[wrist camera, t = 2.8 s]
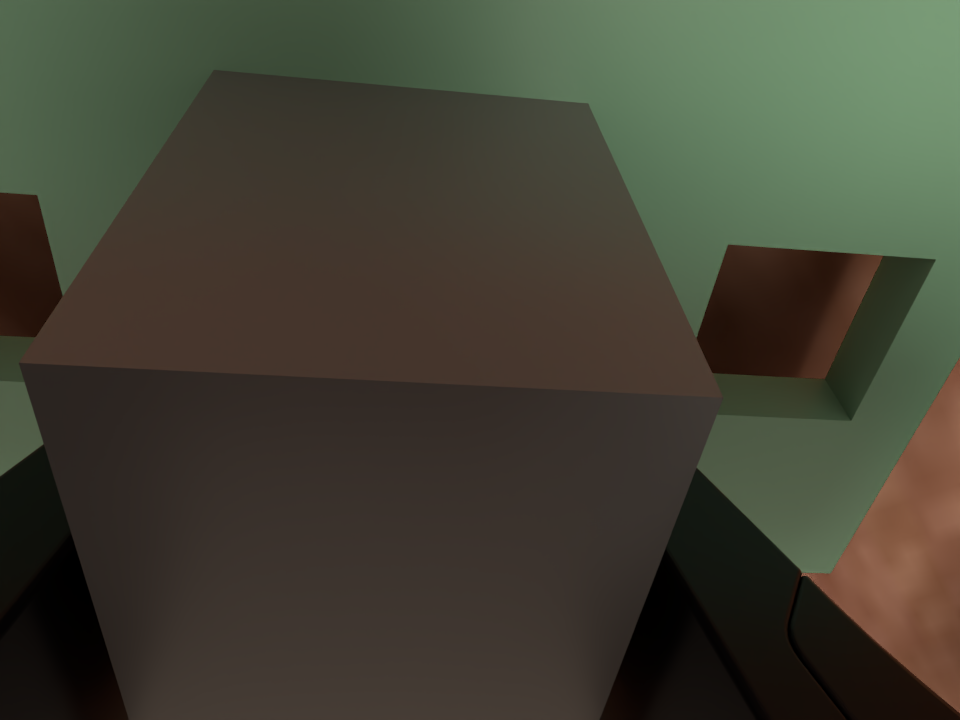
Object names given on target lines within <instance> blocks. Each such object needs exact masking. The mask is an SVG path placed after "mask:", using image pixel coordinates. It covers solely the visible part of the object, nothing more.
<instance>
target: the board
mask: <svg viewBox="0 0 960 720" xmlns="http://www.w3.org/2000/svg"><path fill="white" fill-rule="evenodd" d="M0 192H1V193H15V194H29V195H37V196H38V200H39V204H40V208H41V212H42V216H43V220H44V224H45V228H46V232H47V236H48V240H49V244H50V248H51V252H52V256H53V260H54V264H55V268H56V272H57V276H58V280H59V284H60V288H61V292H62V296H63V297H62V298H61V300H60V301H59V303H58V304H57V306H56V307H55V309H54V310H53V312H52V313H51V315H50V316H49V318H48V319H47V321H46V322H45V324H44V325H43V327H42V328H41V330H40V331H39V333H38V334H37V336H36V337H18V336H0V476H1V475H2V474H4V473H5V472H6V471H8V470H9V469H11V468H12V467H13V466H15V465H16V464H17V463H19V462H20V461H21V460H23V459H24V458H25V457H27V456H28V455H29V454H31V453H32V452H33V451H35V450H36V449H37V448H39V447H40V446H41V445H43V444H44V447H45V450H46V453H47V456H48V460H49V463H50V466H51V469H52V473H53V476H54V479H55V482H56V485H57V489H58V492H59V495H60V498H61V502H62V505H63V508H64V511H65V515H66V518H67V521H68V524H69V527H70V531H71V534H72V537H73V540H74V544H75V547H76V550H77V553H78V557H79V560H80V563H81V566H82V569H83V573H84V576H85V579H86V582H87V586H88V589H89V592H90V595H91V599H92V602H93V605H94V608H95V611H96V615H97V618H98V621H99V624H100V628H101V631H102V634H103V637H104V641H105V644H106V647H107V650H108V654H109V657H110V660H111V663H112V666H113V670H114V673H115V676H116V679H117V683H118V686H119V689H120V692H121V696H122V699H123V702H124V705H125V708H126V712H127V715H128V718H129V720H600V717H601V715H602V712H603V710H604V707H605V704H606V702H607V699H608V697H609V694H610V691H611V689H612V686H613V684H614V681H615V678H616V676H617V673H618V671H619V668H620V665H621V663H622V660H623V658H624V655H625V652H626V650H627V647H628V645H629V642H630V639H631V637H632V634H633V632H634V629H635V626H636V624H637V621H638V619H639V616H640V613H641V611H642V608H643V606H644V603H645V600H646V598H647V595H648V593H649V590H650V587H651V585H652V582H653V580H654V577H655V574H656V572H657V569H658V567H659V564H660V561H661V559H662V556H663V554H664V551H665V548H666V546H667V543H668V541H669V538H670V535H671V533H672V530H673V528H674V525H675V522H676V520H677V517H678V515H679V512H680V509H681V507H682V504H683V502H684V499H685V496H686V494H687V491H688V489H689V486H690V484H691V481H692V478H693V476H694V473H695V471H696V468H698V469H699V470H700V471H701V472H702V473H703V474H704V475H705V476H706V477H707V478H708V479H709V480H710V481H711V482H712V483H713V484H714V485H715V486H716V487H717V488H718V489H719V490H720V491H721V492H722V493H723V494H724V495H725V496H726V497H727V498H728V499H729V500H730V501H731V502H732V503H733V504H734V505H735V506H736V507H737V508H738V509H739V510H740V511H741V512H742V513H743V514H744V515H746V516H747V517H748V518H749V519H750V520H751V521H752V522H753V523H754V524H755V525H756V526H757V527H758V528H759V529H760V530H761V531H762V532H763V533H764V534H765V535H766V536H767V537H768V538H769V539H770V540H771V541H772V542H773V543H774V544H775V545H776V546H777V547H778V548H779V549H780V550H781V551H782V552H783V553H784V554H785V555H786V556H787V557H788V558H789V559H790V560H791V561H792V562H793V563H794V564H795V565H796V566H797V567H798V568H799V569H800V570H801V572H802V573H831V572H832V570H833V569H834V567H835V565H836V564H837V562H838V560H839V559H840V557H841V555H842V554H843V552H844V550H845V548H846V547H847V545H848V543H849V542H850V540H851V538H852V537H853V535H854V533H855V532H856V530H857V528H858V527H859V525H860V523H861V522H862V520H863V518H864V517H865V515H866V513H867V512H868V510H869V508H870V507H871V505H872V503H873V502H874V500H875V498H876V497H877V495H878V493H879V492H880V490H881V488H882V486H883V485H884V483H885V481H886V480H887V478H888V476H889V475H890V473H891V471H892V470H893V468H894V466H895V465H896V463H897V461H898V460H899V458H900V456H901V455H902V453H903V451H904V450H905V448H906V446H907V445H908V443H909V441H910V440H911V438H912V436H913V435H914V433H915V431H916V430H917V428H918V426H919V424H920V423H921V421H922V419H923V418H924V416H925V414H926V413H927V411H928V409H929V408H930V406H931V404H932V403H933V401H934V399H935V398H936V396H937V394H938V393H939V391H940V389H941V388H942V386H943V384H944V383H945V381H946V379H947V378H948V376H949V374H950V373H951V371H952V369H953V368H954V366H955V364H956V362H957V361H958V359H959V357H960V0H0ZM728 245H742V246H756V247H770V248H784V249H798V250H812V251H826V252H840V253H854V254H868V255H882V256H883V258H882V260H881V262H880V265H879V267H878V269H877V271H876V273H875V275H874V277H873V279H872V281H871V283H870V286H869V288H868V290H867V292H866V294H865V296H864V298H863V300H862V302H861V304H860V306H859V309H858V311H857V313H856V315H855V317H854V319H853V321H852V323H851V325H850V327H849V330H848V332H847V334H846V336H845V338H844V340H843V342H842V344H841V346H840V348H839V350H838V353H837V355H836V357H835V359H834V361H833V363H832V365H831V367H830V369H829V371H828V374H827V376H826V378H825V379H811V378H792V377H773V376H754V375H736V374H717V373H712V372H711V369H710V367H709V365H708V363H707V361H706V359H705V356H704V354H703V352H702V350H701V348H700V346H699V343H698V341H697V339H696V338H697V335H698V332H699V329H700V326H701V323H702V320H703V317H704V314H705V311H706V308H707V305H708V302H709V299H710V296H711V293H712V290H713V287H714V284H715V282H716V279H717V276H718V273H719V270H720V267H721V264H722V261H723V258H724V255H725V252H726V249H727V246H728Z"/></svg>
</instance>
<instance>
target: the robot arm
mask: <svg viewBox="0 0 960 720" xmlns="http://www.w3.org/2000/svg"><path fill="white" fill-rule="evenodd" d="M801 575H802V572H801V570H800V569H799V568H798V567H797V566H796V565H795V564H794V563H793V562H792V561H791V560H790V559H789V558H788V557H787V556H786V555H785V554H784V553H783V552H782V551H781V550H780V549H779V548H778V547H777V546H776V545H775V544H774V543H773V542H772V541H771V540H770V539H769V538H768V537H767V536H766V535H765V534H764V533H763V532H762V531H761V530H760V529H759V528H758V527H757V526H756V525H755V524H754V523H753V522H752V521H751V520H750V519H749V518H748V517H747V516H746V515H744V514H743V513H742V512H741V511H740V510H739V509H738V508H737V507H736V506H735V505H734V504H733V503H732V502H731V501H730V500H729V499H728V498H727V497H726V496H725V495H724V494H723V493H722V492H721V491H720V490H719V489H718V488H717V487H716V486H715V485H714V484H713V483H712V482H711V481H710V480H709V479H708V478H707V477H706V476H705V475H704V474H703V473H702V472H701V471H700V470H699V469H698V468H696V471H695V473H694V476H693V478H692V481H691V484H690V486H689V489H688V491H687V494H686V496H685V499H684V502H683V504H682V507H681V509H680V512H679V515H678V517H677V520H676V522H675V525H674V528H673V530H672V533H671V535H670V538H669V541H668V543H667V546H666V548H665V551H664V554H663V556H662V559H661V561H660V564H659V567H658V569H657V572H656V574H655V577H654V580H653V582H652V585H651V587H650V590H649V593H648V595H647V598H646V600H645V603H644V606H643V608H642V611H641V613H640V616H639V619H638V621H637V624H636V626H635V629H634V632H633V634H632V637H631V639H630V642H629V645H628V647H627V650H626V652H625V655H624V658H623V660H622V663H621V665H620V668H619V671H618V673H617V676H616V678H615V681H614V684H613V686H612V689H611V691H610V694H609V697H608V699H607V702H606V704H605V707H604V710H603V712H602V715H601V717H600V720H960V713H959V712H957V711H956V710H955V709H954V708H953V707H951V706H950V705H949V704H948V703H947V702H945V701H944V700H943V699H942V698H941V697H939V696H938V695H937V694H936V693H935V692H934V691H932V690H931V689H930V688H929V687H928V686H926V685H925V684H924V683H923V682H922V681H921V680H919V679H918V678H917V677H916V676H915V675H914V674H913V673H911V672H910V671H909V670H908V669H907V668H906V667H904V666H903V665H902V664H901V663H900V662H899V661H898V660H896V659H895V658H894V657H893V656H892V655H891V654H890V653H888V652H887V651H886V650H885V649H884V648H883V647H882V646H880V645H879V644H878V643H877V642H876V641H875V640H874V639H873V638H871V637H870V636H869V635H868V634H867V633H866V632H865V631H864V630H863V629H862V628H861V627H860V626H859V625H858V624H857V623H856V622H854V621H853V620H852V619H851V618H850V617H849V616H848V615H847V614H846V613H845V612H844V611H843V610H842V609H841V608H840V607H839V606H838V605H836V604H835V603H834V602H833V601H832V600H831V599H830V598H829V597H828V596H827V595H826V594H825V593H824V592H823V591H822V590H821V589H820V588H819V587H818V586H817V585H816V584H815V583H814V582H813V581H812V580H811V579H810V578H809V577H807V576H802V577H801ZM0 720H129V718H128V715H127V712H126V708H125V705H124V702H123V699H122V696H121V692H120V689H119V686H118V683H117V679H116V676H115V673H114V670H113V666H112V663H111V660H110V657H109V654H108V650H107V647H106V644H105V641H104V637H103V634H102V631H101V628H100V624H99V621H98V618H97V615H96V611H95V608H94V605H93V602H92V599H91V595H90V592H89V589H88V586H87V582H86V579H85V576H84V573H83V569H82V566H81V563H80V560H79V557H78V553H77V550H76V547H75V544H74V540H73V537H72V534H71V531H70V527H69V524H68V521H67V518H66V515H65V511H64V508H63V505H62V502H61V498H60V495H59V492H58V489H57V485H56V482H55V479H54V476H53V473H52V469H51V466H50V463H49V460H48V456H47V453H46V450H45V447H44V444H43V445H41V446H40V447H39V448H37V449H36V450H35V451H33V452H32V453H31V454H29V455H28V456H27V457H25V458H24V459H23V460H21V461H20V462H19V463H17V464H16V465H15V466H13V467H12V468H11V469H9V470H8V471H6V472H5V473H4V474H2V475H1V476H0Z"/></svg>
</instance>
